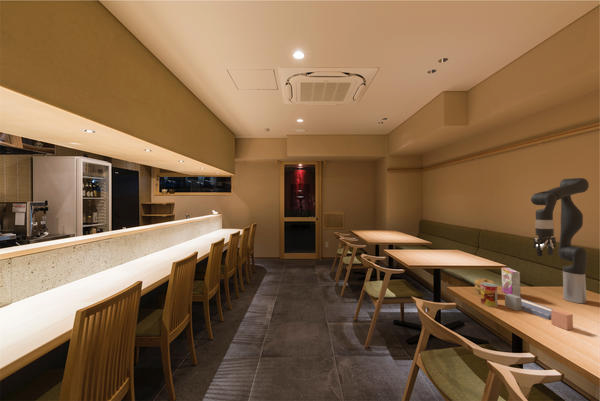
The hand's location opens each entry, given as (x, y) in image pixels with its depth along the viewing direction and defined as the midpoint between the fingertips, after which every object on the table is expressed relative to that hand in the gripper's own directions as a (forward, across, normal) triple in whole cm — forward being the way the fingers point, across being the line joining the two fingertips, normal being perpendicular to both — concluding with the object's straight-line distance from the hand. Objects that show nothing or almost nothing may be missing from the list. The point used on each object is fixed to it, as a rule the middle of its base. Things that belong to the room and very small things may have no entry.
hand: (545, 255), depth 140 cm
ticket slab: (+30, +10, 0) cm, 32 cm away
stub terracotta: (+30, +18, +17) cm, 39 cm away
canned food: (+30, +26, -13) cm, 42 cm away
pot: (+30, +12, -26) cm, 42 cm away
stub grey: (+30, +18, -5) cm, 36 cm away
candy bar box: (+30, -2, -20) cm, 36 cm away
